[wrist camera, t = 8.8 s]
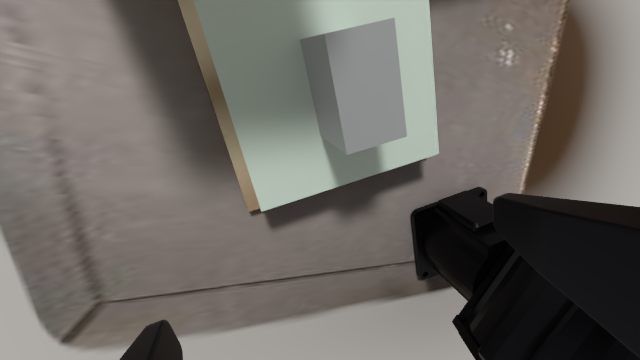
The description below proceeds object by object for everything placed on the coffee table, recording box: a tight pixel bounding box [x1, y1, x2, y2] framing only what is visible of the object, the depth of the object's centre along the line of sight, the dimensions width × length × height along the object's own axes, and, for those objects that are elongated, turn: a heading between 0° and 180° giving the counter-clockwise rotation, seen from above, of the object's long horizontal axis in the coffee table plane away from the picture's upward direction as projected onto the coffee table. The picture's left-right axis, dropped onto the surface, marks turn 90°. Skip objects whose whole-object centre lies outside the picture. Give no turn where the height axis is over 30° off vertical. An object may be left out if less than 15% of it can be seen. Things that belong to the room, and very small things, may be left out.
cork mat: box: [178, 0, 260, 212], centre depth 19 cm, size 13×13×1 cm
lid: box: [193, 0, 439, 212], centre depth 16 cm, size 12×12×6 cm
